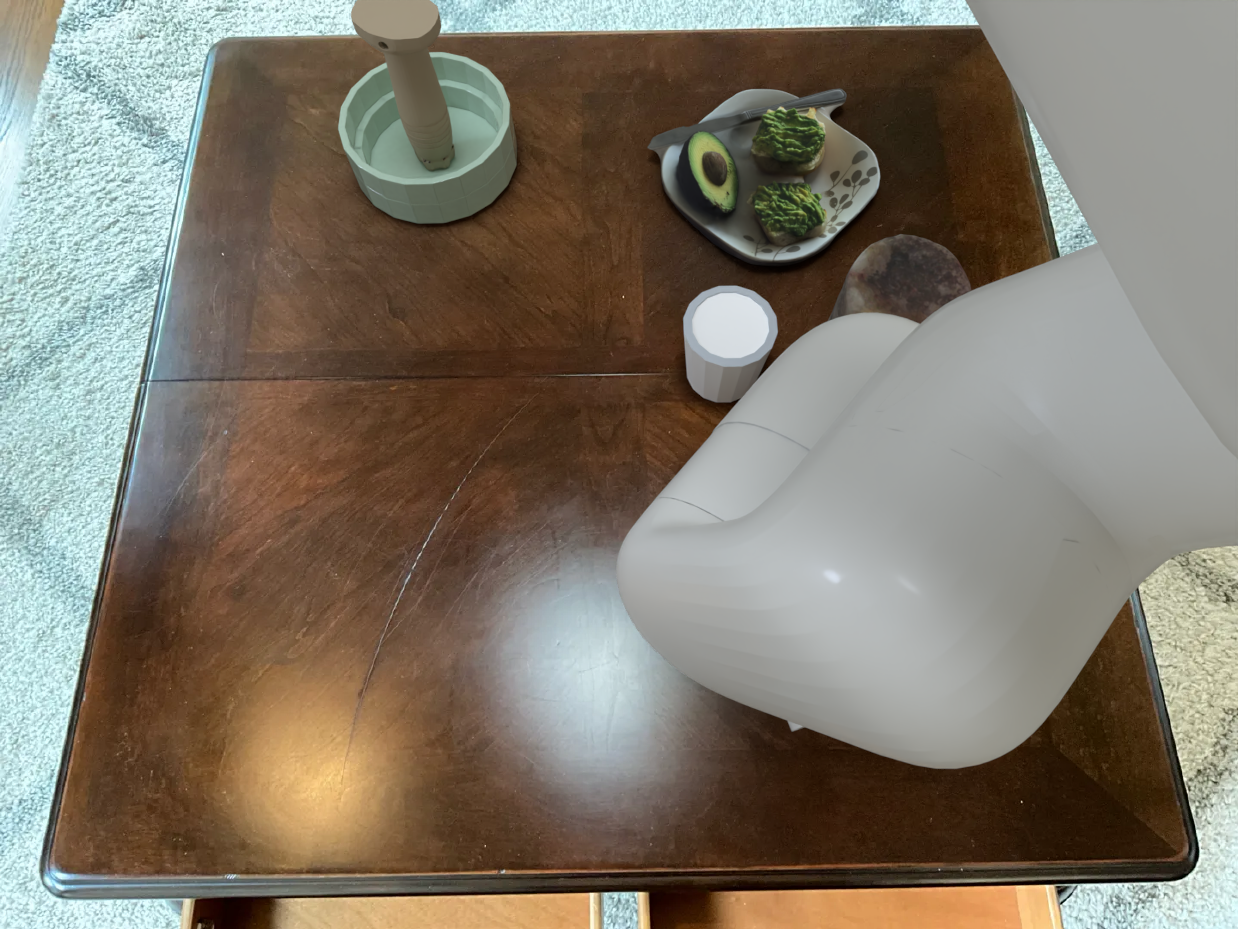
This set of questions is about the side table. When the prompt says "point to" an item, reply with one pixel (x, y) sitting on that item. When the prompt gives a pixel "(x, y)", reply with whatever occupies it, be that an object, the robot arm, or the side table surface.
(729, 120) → the avocado toast plate
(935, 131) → the side table surface
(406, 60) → the handle
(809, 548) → the robot arm
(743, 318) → the white short cylinder
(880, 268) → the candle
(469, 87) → the bowl
